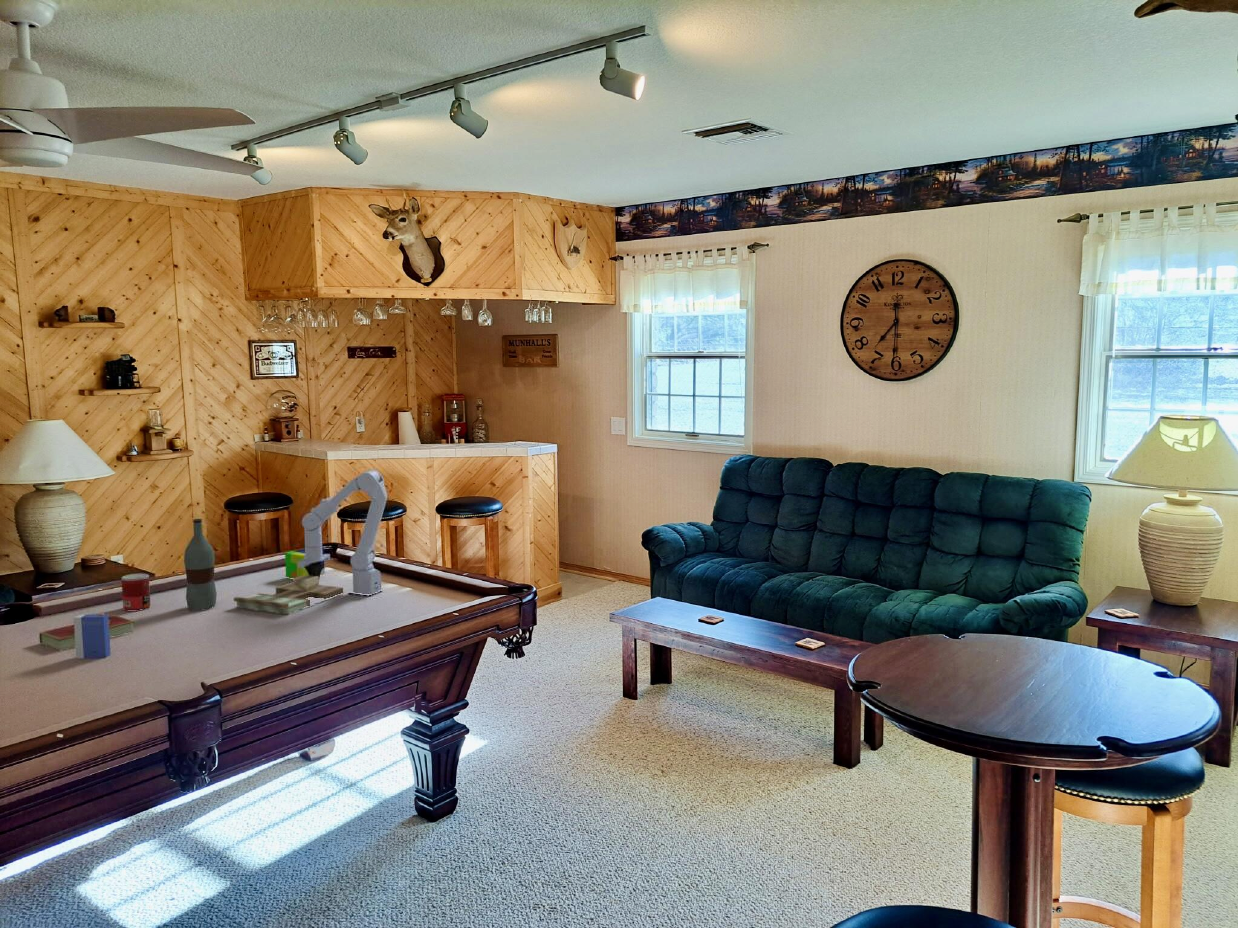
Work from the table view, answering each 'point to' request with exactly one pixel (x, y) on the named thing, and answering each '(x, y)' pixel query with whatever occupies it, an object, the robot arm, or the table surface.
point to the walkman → (92, 636)
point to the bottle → (200, 571)
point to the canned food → (136, 591)
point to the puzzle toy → (292, 565)
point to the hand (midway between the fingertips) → (314, 583)
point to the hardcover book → (66, 635)
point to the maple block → (305, 583)
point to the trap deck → (286, 599)
